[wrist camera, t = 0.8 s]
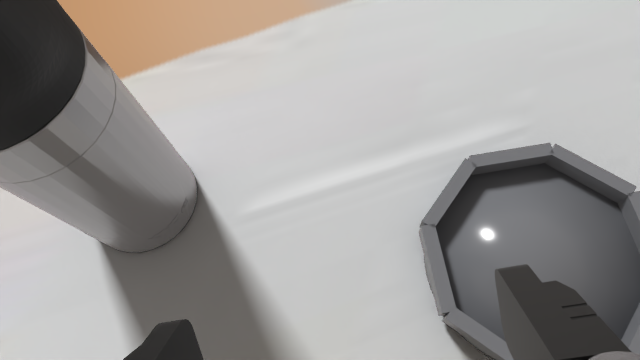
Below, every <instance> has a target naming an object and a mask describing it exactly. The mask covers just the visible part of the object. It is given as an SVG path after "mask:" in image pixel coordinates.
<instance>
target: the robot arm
mask: <svg viewBox="0 0 640 360" xmlns="http://www.w3.org/2000/svg"><path fill="white" fill-rule="evenodd" d="M0 187H1V188H3V189H5V190H6V191H8V192H10V193H12V194H14V195H16V196H18V197H19V198H21V199H23V200H25V201H27V202H29V203H31V204H32V205H34V206H36V207H38V208H40V209H42V210H44V211H45V212H47V213H49V214H51V215H53V216H55V217H56V218H58V219H60V220H62V221H64V222H66V223H68V224H69V225H71V226H73V227H75V228H77V229H79V230H81V231H82V232H84V233H86V234H88V235H89V236H91V237H93V238H95V239H97V240H99V241H101V242H103V243H105V244H107V245H108V246H110V247H112V248H114V249H116V250H120V251H125V252H143V251H148V250H152V249H154V248H157V247H159V246H161V245H163V244H165V243H166V242H168V241H169V240H171V239H172V238H174V237H175V236H176V235H177V234H178V233H179V232H180V231H181V230H182V229H183V228H184V226H185V225H186V223H187V222H188V221H189V219H190V217H191V215H192V213H193V211H194V208H195V204H196V200H197V185H196V180H195V176H194V174H193V172H192V170H191V168H190V167H189V166H188V165H187V163H186V162H185V161H184V160H183V158H182V157H181V156H180V155H179V153H178V152H177V151H176V150H175V148H174V147H173V145H172V144H171V143H170V142H169V140H168V139H167V138H166V137H165V135H164V134H163V133H162V132H161V130H160V129H159V128H158V127H157V125H156V124H155V123H154V121H153V120H152V119H151V118H150V116H149V115H148V114H147V113H146V111H145V110H144V109H143V108H142V106H141V105H140V104H139V103H138V101H137V100H136V99H135V98H134V96H133V95H132V94H131V93H130V91H129V90H128V89H127V88H126V86H125V85H124V84H123V83H122V81H121V80H120V79H119V78H118V76H117V75H116V74H115V73H114V71H113V70H112V69H111V68H110V66H109V65H108V64H107V63H106V61H105V60H104V59H103V58H102V57H101V55H100V54H99V53H98V52H97V50H96V49H95V48H94V47H93V45H92V44H91V43H90V42H89V40H88V39H87V38H86V37H85V36H84V34H83V33H82V32H81V30H80V29H79V28H78V27H77V25H76V24H75V23H74V22H73V21H72V19H71V18H70V17H69V16H68V14H67V13H66V12H65V11H64V9H63V8H62V7H61V5H60V4H59V3H58V1H57V0H0ZM495 282H496V289H497V295H498V302H499V309H500V315H501V322H502V328H503V332H504V336H505V340H506V343H507V346H508V349H509V351H510V353H511V355H512V357H513V359H514V360H640V354H638V353H632V352H631V351H630V350H629V349H628V347H627V346H626V345H625V344H624V343H623V342H622V341H621V340H620V339H619V338H618V336H617V335H616V334H615V333H614V332H613V331H612V330H611V329H610V328H609V327H608V326H607V324H606V323H605V322H604V321H603V320H602V319H601V318H600V317H599V316H597V313H596V312H595V311H594V310H593V309H592V308H591V307H590V306H589V305H587V302H586V301H585V300H584V299H583V298H582V297H581V296H580V295H579V294H578V293H577V291H576V290H574V289H572V288H570V287H568V286H566V285H564V284H562V283H560V282H558V281H556V280H555V281H549V282H543V283H542V282H541V280H540V279H539V278H538V277H537V275H536V274H535V273H534V272H533V270H532V269H531V268H530V267H529V265H527V264H523V265H517V266H511V267H505V268H499V269H495ZM123 360H203V357H202V354H201V351H200V348H199V345H198V342H197V339H196V336H195V333H194V330H193V327H192V325H191V323H190V322H189V321H188V320H186V319H184V320H177V321H171V322H165V323H160V324H158V325H157V326H156V327H155V328H154V329H153V331H152V332H151V333H150V334H149V336H148V337H147V338H146V340H145V341H144V342H143V344H142V345H140V346H139V347H138V348H137V349H135V350H134V351H133V352H132V353H130V354H129V355H128V356H127V357H125V358H124V359H123Z"/></svg>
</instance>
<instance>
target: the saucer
mask: <svg viewBox="0 0 640 360" xmlns="http://www.w3.org/2000/svg"><path fill="white" fill-rule="evenodd" d="M635 189H636V186H634V185H633V184H631V183H629V182H627V181H625V180H623V179H621V178H619V177H617V176H616V175H614V174H612V173H610V172H608V171H606V170H604V169H602V168H600V167H599V166H597V165H595V164H593V163H591V162H589V161H587V160H585V159H583V158H581V157H580V156H578V155H576V154H574V153H572V152H570V151H568V150H566V149H564V148H563V147H561V146H559V145H557V144H555V145H554V146H553V147H551V144H550V143H546V144H539V145H533V146H527V147H521V148H515V149H509V150H502V151H496V152H490V153H484V154H478V155H471V156H469V158H468V159H466V158H465V160H464V161H463V163H462V164H461V165H460V167H459V168H458V170H457V171H456V173H455V174H454V176H453V177H452V178H451V180H450V181H449V183H448V184H447V186H446V187H445V189H444V190H443V191H442V193H441V194H440V196H439V197H438V199H437V200H436V202H435V203H434V204H433V206H432V207H431V209H430V210H429V212H428V213H427V214H426V216H425V217H424V219H423V220H422V222H421V225H420V230H419V236H420V240H421V244H422V248H423V252H424V263H425V269H426V275H427V279H428V282H429V285H430V288H431V291H432V293H433V295H434V298H435V303H436V307H437V311H438V315H439V316H442V315H445V317H444V319H443V320H442V321H443V322H444V323H446V324H447V325H449V326H450V327H451V328H453V329H454V330H456V331H457V332H458V333H460V334H461V335H462V336H463V337H464V338H465V340H467V341H468V342H469V343H470V344H472V345H473V346H474V347H475V348H477V349H478V350H479V351H481V352H483V353H484V354H486V355H487V356H489V357H491V358H492V359H494V360H514V359H513V357H512V355H511V353H510V351H509V349H508V346H507V343H506V340H505V336H504V332H503V328H502V322H501V315H500V309H499V302H498V295H497V289H496V282H495V269H499V268H505V267H511V266H517V265H523V264H527V265H529V267H530V268H531V269H532V270H533V272H534V273H535V274H536V275H537V277H538V278H539V279H540V280H541V282H542V283H543V282H549V281H555V280H556V281H558V282H560V283H562V284H564V285H566V286H568V287H570V288H572V289H574V290H576V291H577V293H578V294H579V295H580V296H581V297H582V298H583V299H584V300H585V301H586V302H587V305H589V306H590V307H591V308H592V309H593V310H594V311H595V312H596V313H597V316H599V317H600V318H601V319H602V320H603V321H604V322H605V323H606V324H607V326H608V327H609V328H610V329H611V330H612V331H613V332H614V333H615V334H616V335H617V336H618V338H619V339H620V340H621V341H622V342H623V343H624V344H625V345H626V346H627V347H628V349H629V350H630V351H631V352H632V353H638V354H640V191H638V192H634V191H635Z"/></svg>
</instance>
